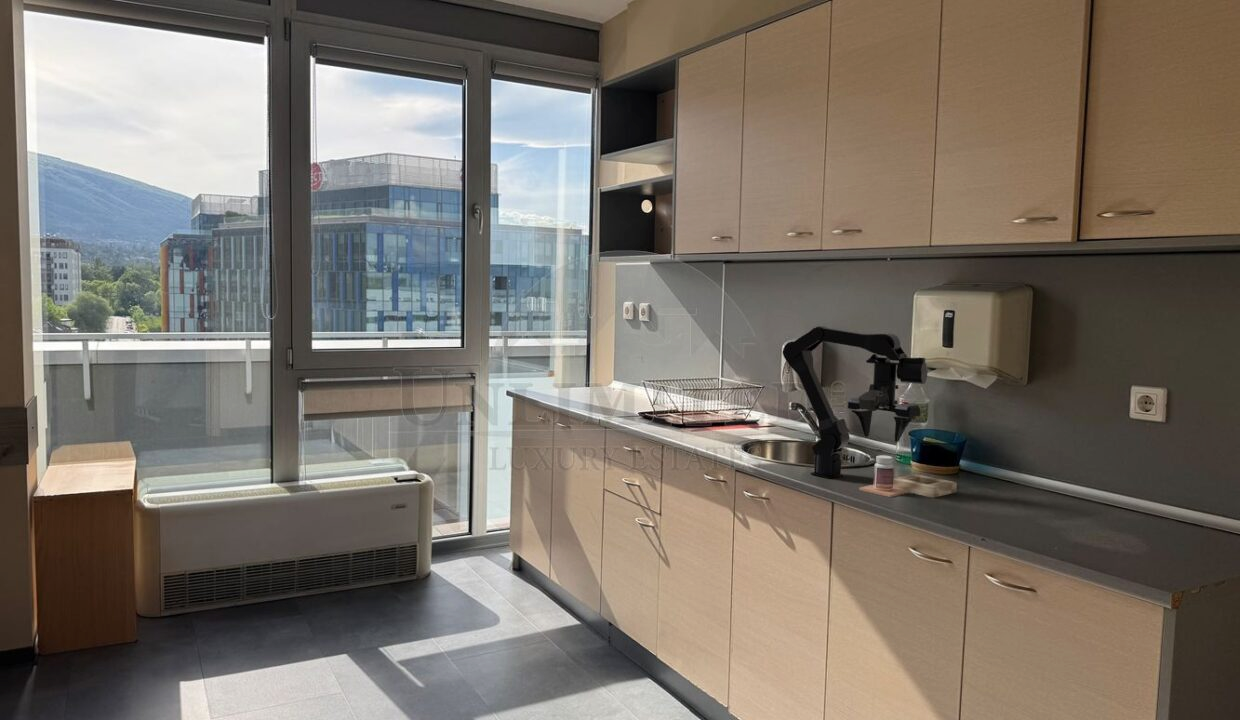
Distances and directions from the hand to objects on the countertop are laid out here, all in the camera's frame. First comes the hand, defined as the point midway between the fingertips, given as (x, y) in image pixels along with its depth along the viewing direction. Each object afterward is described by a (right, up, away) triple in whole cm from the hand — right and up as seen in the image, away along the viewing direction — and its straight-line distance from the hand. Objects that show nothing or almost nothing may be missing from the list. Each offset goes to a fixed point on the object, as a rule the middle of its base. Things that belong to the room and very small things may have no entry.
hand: (881, 439), depth 224 cm
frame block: (+9, -13, -5) cm, 17 cm away
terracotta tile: (-2, -13, -8) cm, 15 cm away
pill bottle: (-2, -12, -8) cm, 15 cm away
